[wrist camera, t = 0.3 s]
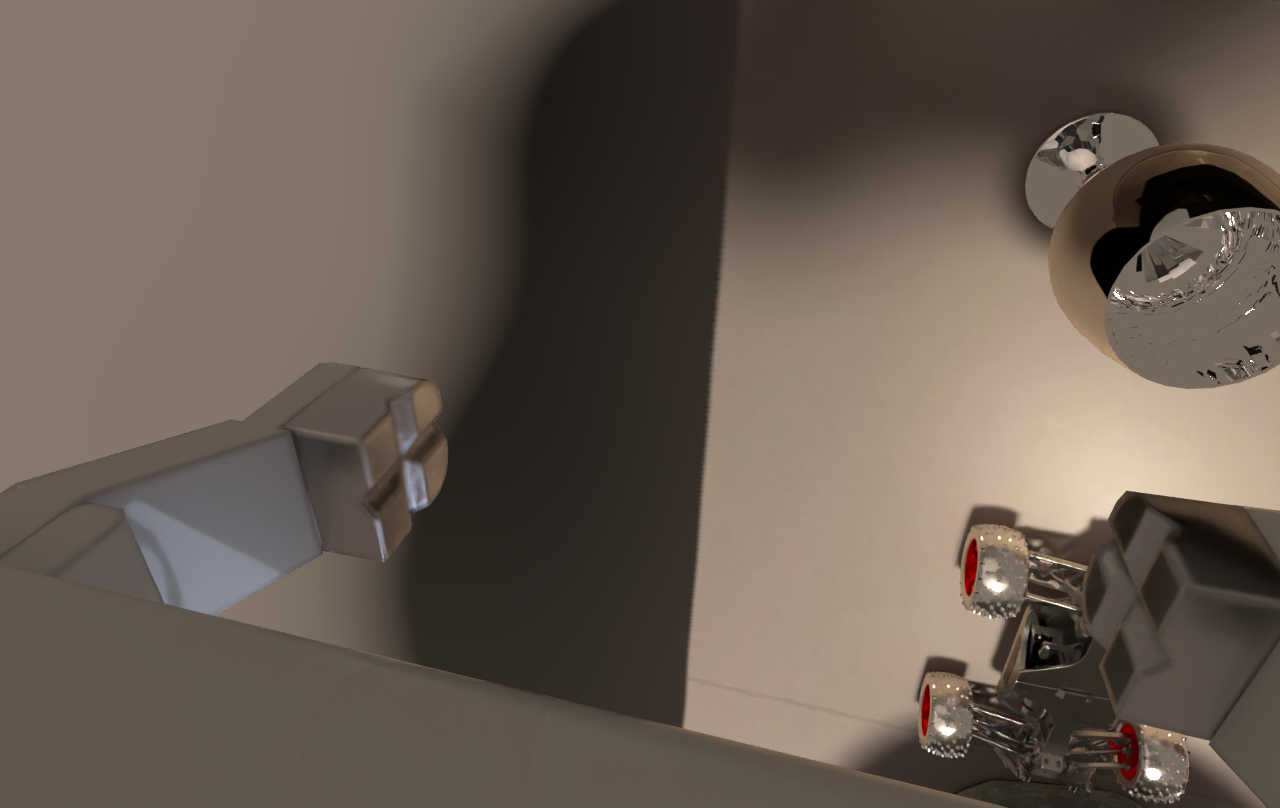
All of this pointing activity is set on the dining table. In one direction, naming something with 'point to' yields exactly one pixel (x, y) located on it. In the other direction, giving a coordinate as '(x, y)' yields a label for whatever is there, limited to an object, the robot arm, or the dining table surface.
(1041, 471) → the dining table surface
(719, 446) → the dining table surface
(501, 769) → the robot arm
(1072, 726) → the toy car
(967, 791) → the decorative bowl
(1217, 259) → the wineglass
